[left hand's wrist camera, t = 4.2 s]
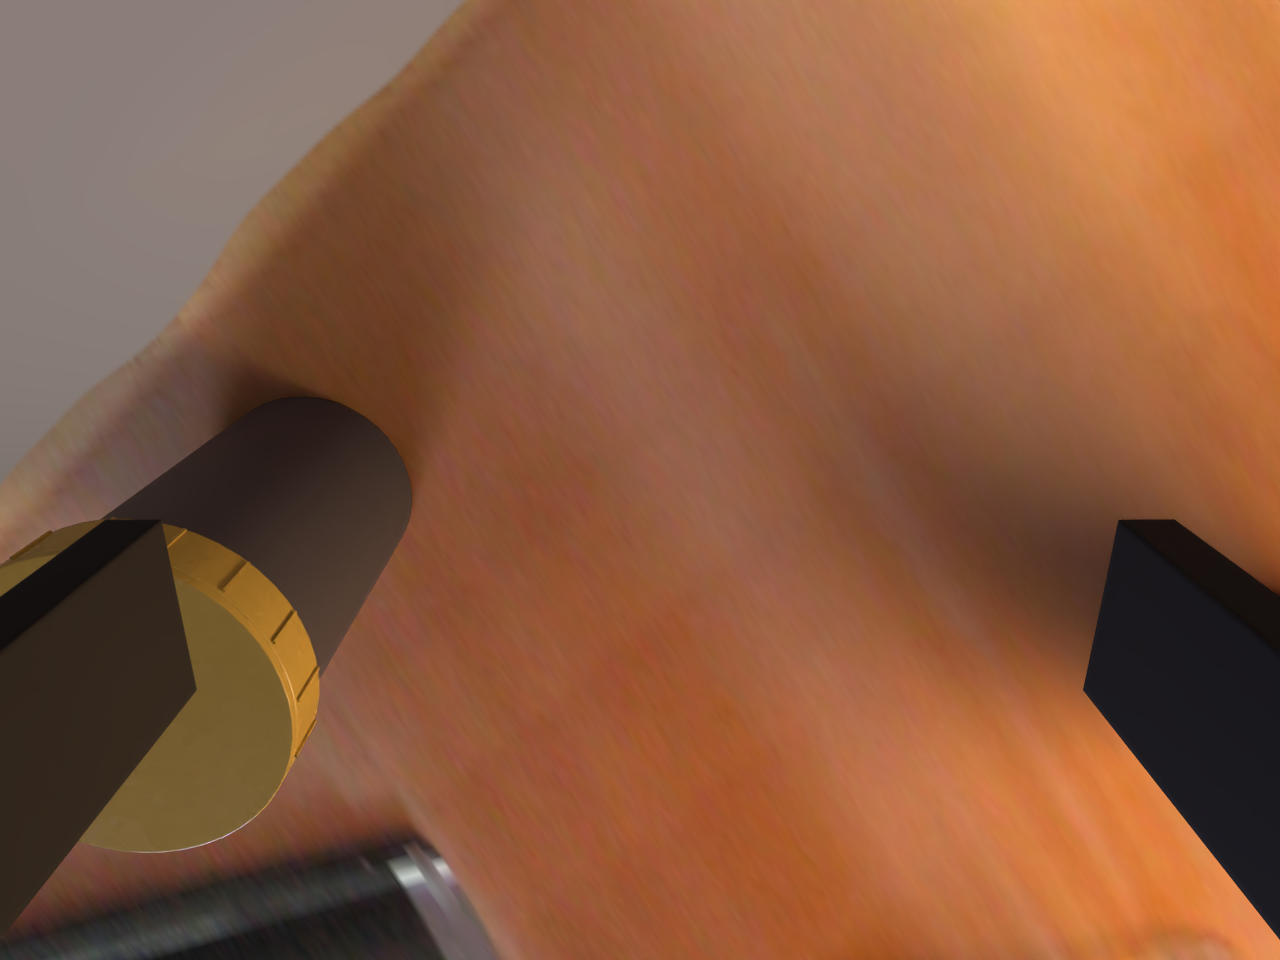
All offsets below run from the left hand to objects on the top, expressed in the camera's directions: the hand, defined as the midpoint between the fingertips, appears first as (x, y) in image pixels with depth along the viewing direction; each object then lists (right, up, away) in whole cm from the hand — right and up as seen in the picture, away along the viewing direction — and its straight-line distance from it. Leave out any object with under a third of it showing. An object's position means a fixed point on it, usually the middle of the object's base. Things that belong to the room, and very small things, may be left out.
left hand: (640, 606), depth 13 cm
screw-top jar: (-15, +1, +30) cm, 33 cm away
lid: (-15, -5, +14) cm, 21 cm away
